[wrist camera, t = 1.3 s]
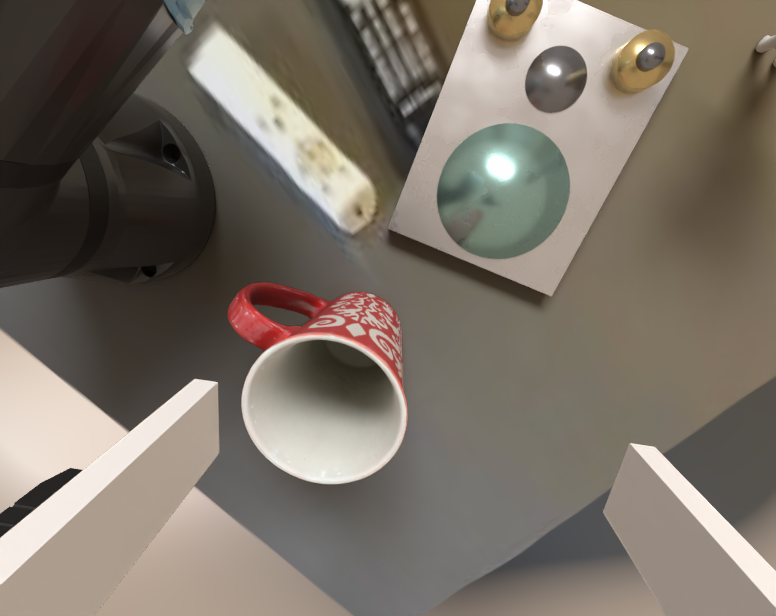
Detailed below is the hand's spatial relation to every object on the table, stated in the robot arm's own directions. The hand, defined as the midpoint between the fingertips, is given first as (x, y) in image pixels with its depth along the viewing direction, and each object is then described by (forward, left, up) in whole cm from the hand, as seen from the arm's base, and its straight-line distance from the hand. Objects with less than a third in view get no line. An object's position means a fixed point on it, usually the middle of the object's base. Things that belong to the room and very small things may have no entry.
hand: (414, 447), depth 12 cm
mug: (-5, -4, -20) cm, 21 cm away
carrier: (+2, +14, -20) cm, 24 cm away
